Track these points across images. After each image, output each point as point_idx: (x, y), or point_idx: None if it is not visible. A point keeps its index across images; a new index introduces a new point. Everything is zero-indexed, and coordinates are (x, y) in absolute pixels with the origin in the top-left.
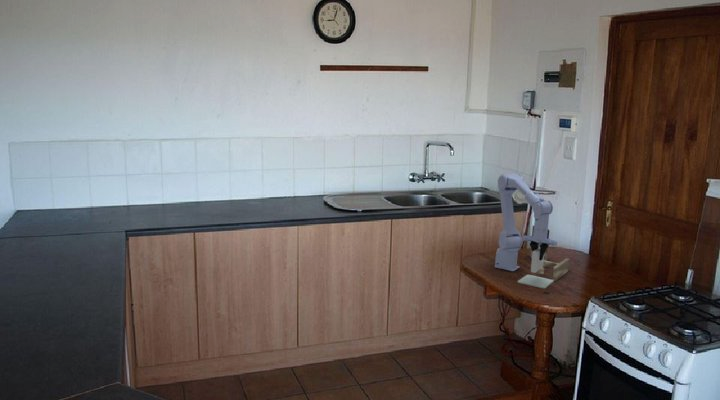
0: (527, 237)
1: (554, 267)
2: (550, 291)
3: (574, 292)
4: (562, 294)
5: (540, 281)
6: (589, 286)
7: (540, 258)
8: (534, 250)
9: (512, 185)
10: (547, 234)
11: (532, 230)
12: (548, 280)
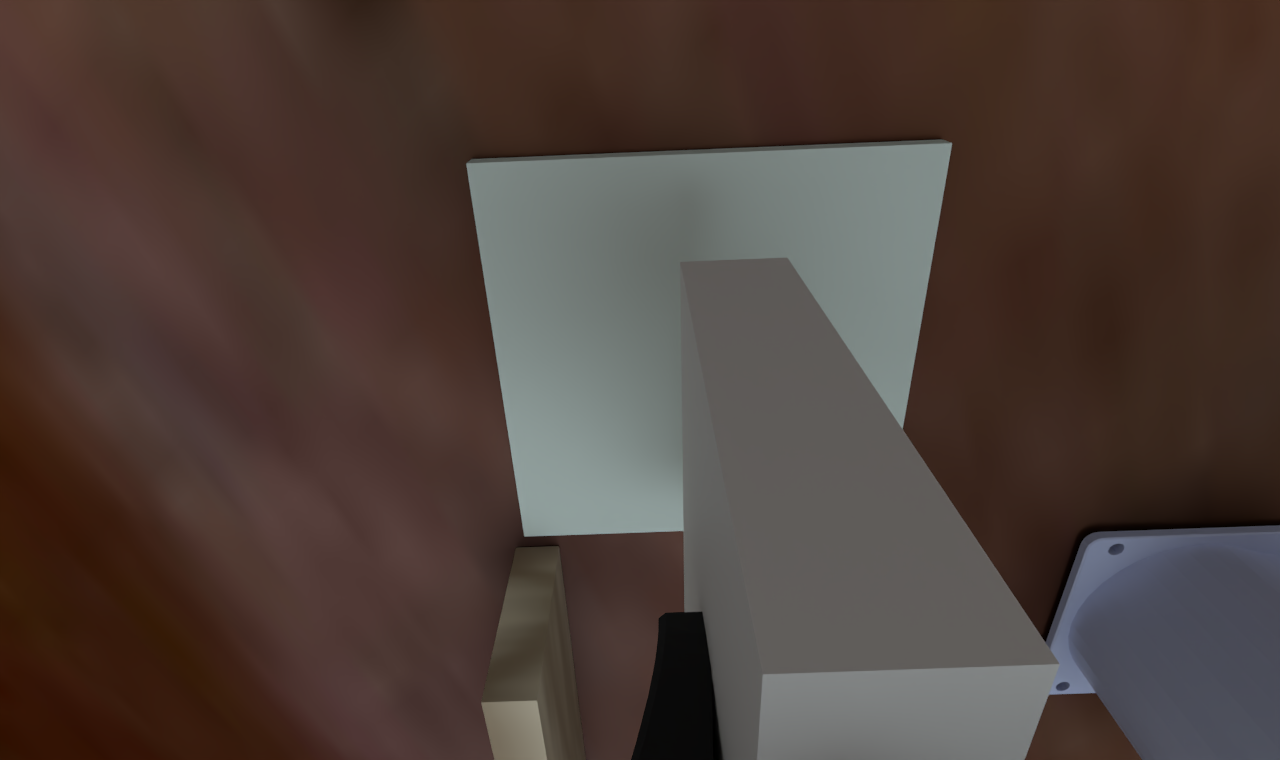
0: None
1: (524, 703)
2: (339, 98)
3: (97, 317)
4: (129, 94)
5: (639, 380)
6: (156, 618)
7: (675, 648)
8: None
9: None
10: None
11: None
12: (571, 484)
